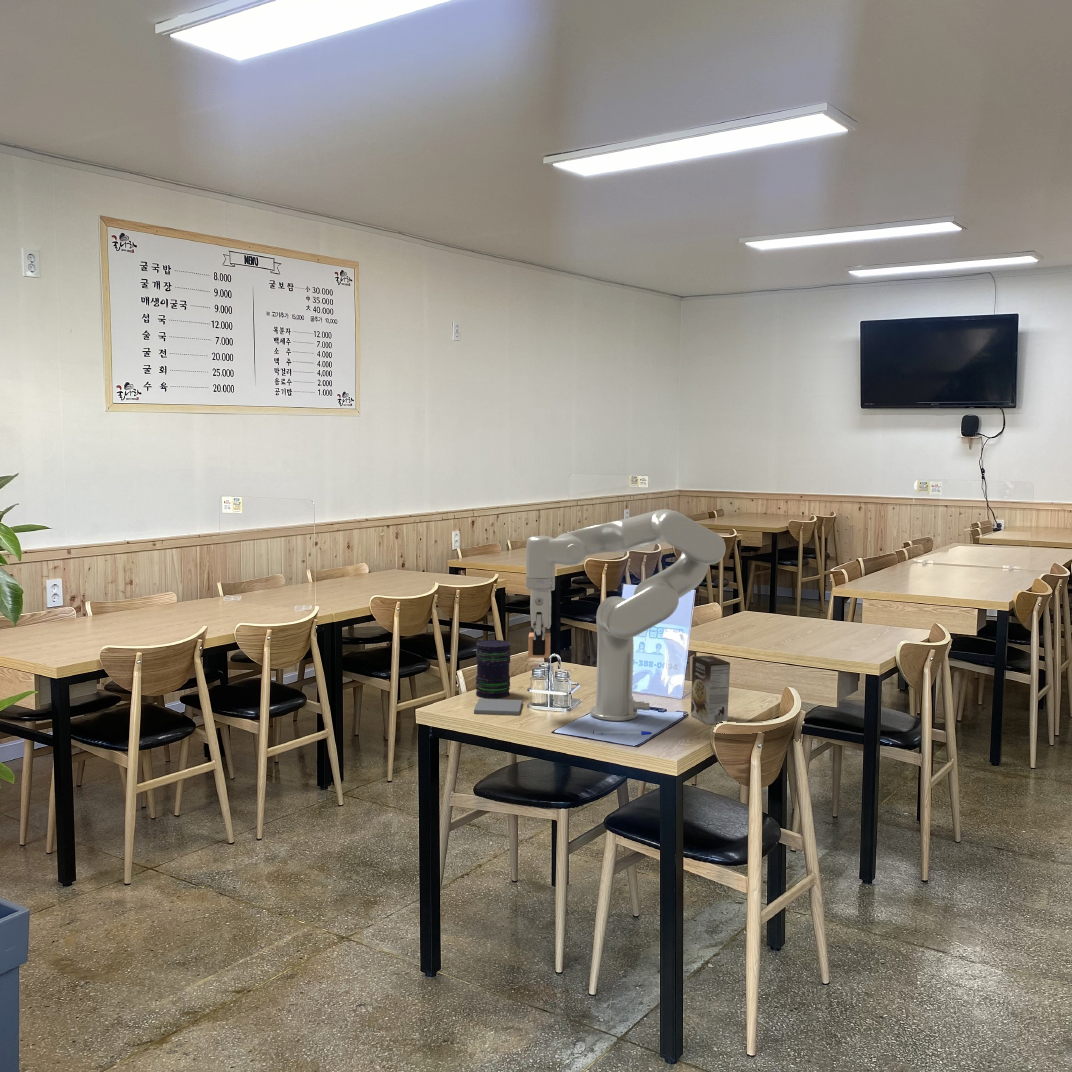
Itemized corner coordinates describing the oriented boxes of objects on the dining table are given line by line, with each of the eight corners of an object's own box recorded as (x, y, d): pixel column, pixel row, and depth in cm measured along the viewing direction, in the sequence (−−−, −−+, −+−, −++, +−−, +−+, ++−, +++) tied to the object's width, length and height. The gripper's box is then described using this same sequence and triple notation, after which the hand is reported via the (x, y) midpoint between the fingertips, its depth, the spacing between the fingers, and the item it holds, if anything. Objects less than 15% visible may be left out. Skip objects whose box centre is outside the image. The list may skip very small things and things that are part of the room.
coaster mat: (522, 703, 274) (522, 700, 274) (519, 715, 262) (519, 711, 262) (478, 702, 275) (478, 698, 275) (473, 713, 263) (473, 710, 263)
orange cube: (550, 653, 262) (550, 633, 262) (549, 658, 257) (549, 637, 256) (529, 653, 262) (529, 632, 262) (528, 657, 257) (528, 636, 256)
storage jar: (494, 700, 276) (495, 648, 275) (468, 695, 282) (468, 643, 281) (517, 694, 284) (517, 642, 283) (490, 688, 290) (491, 638, 289)
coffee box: (689, 715, 265) (691, 656, 263) (710, 713, 267) (712, 654, 266) (707, 724, 256) (709, 663, 255) (728, 722, 258) (730, 661, 257)
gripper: (553, 588, 249) (552, 659, 251) (555, 579, 266) (554, 646, 268) (523, 588, 249) (522, 659, 251) (527, 579, 266) (527, 645, 268)
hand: (539, 651), depth 259 cm, fingers closed on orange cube, 5 cm apart
